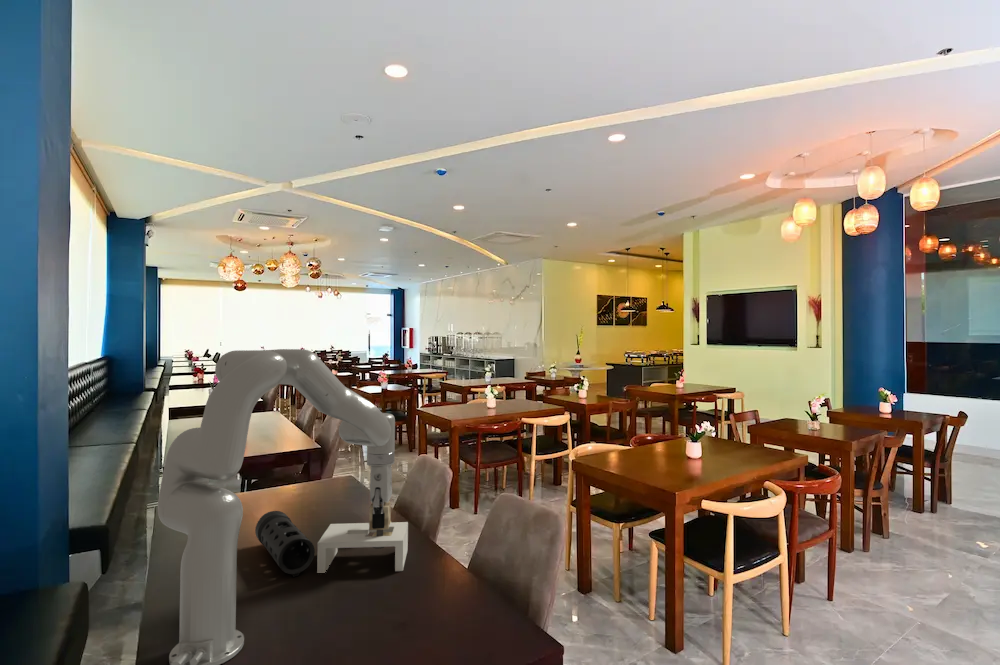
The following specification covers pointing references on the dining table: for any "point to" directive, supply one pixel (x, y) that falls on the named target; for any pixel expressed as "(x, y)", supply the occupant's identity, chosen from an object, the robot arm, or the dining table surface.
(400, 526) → the keyhole stand
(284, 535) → the muzzle brake
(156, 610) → the dining table surface
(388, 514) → the peg
